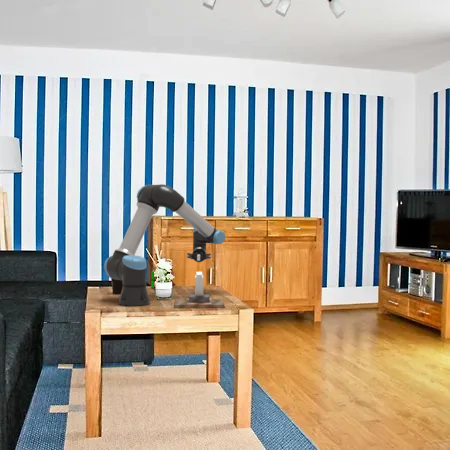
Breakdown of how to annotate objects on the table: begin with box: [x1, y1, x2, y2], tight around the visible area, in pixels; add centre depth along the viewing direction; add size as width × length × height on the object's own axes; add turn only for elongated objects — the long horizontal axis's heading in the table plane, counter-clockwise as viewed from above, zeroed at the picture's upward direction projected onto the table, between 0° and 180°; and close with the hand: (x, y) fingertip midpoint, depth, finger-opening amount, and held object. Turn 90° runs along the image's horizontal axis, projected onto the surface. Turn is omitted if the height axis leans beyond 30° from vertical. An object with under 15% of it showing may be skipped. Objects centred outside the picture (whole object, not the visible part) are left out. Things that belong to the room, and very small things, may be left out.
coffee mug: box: [110, 278, 123, 295], centre depth 347 cm, size 12×9×10 cm
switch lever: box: [194, 271, 204, 296], centre depth 304 cm, size 4×3×13 cm, turn 92°
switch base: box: [173, 294, 225, 309], centre depth 308 cm, size 24×18×4 cm
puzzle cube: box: [150, 270, 174, 289], centre depth 367 cm, size 10×10×10 cm
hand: (198, 258), depth 323 cm, fingers closed
